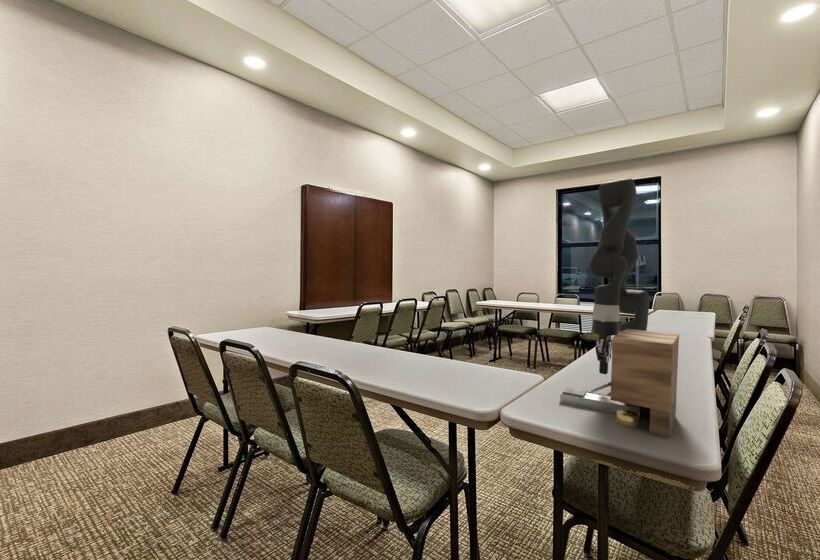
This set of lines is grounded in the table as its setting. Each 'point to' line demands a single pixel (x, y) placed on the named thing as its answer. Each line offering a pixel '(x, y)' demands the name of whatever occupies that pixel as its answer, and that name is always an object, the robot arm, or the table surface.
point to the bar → (595, 401)
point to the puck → (627, 418)
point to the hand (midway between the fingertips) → (603, 373)
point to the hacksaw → (601, 388)
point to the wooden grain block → (647, 375)
